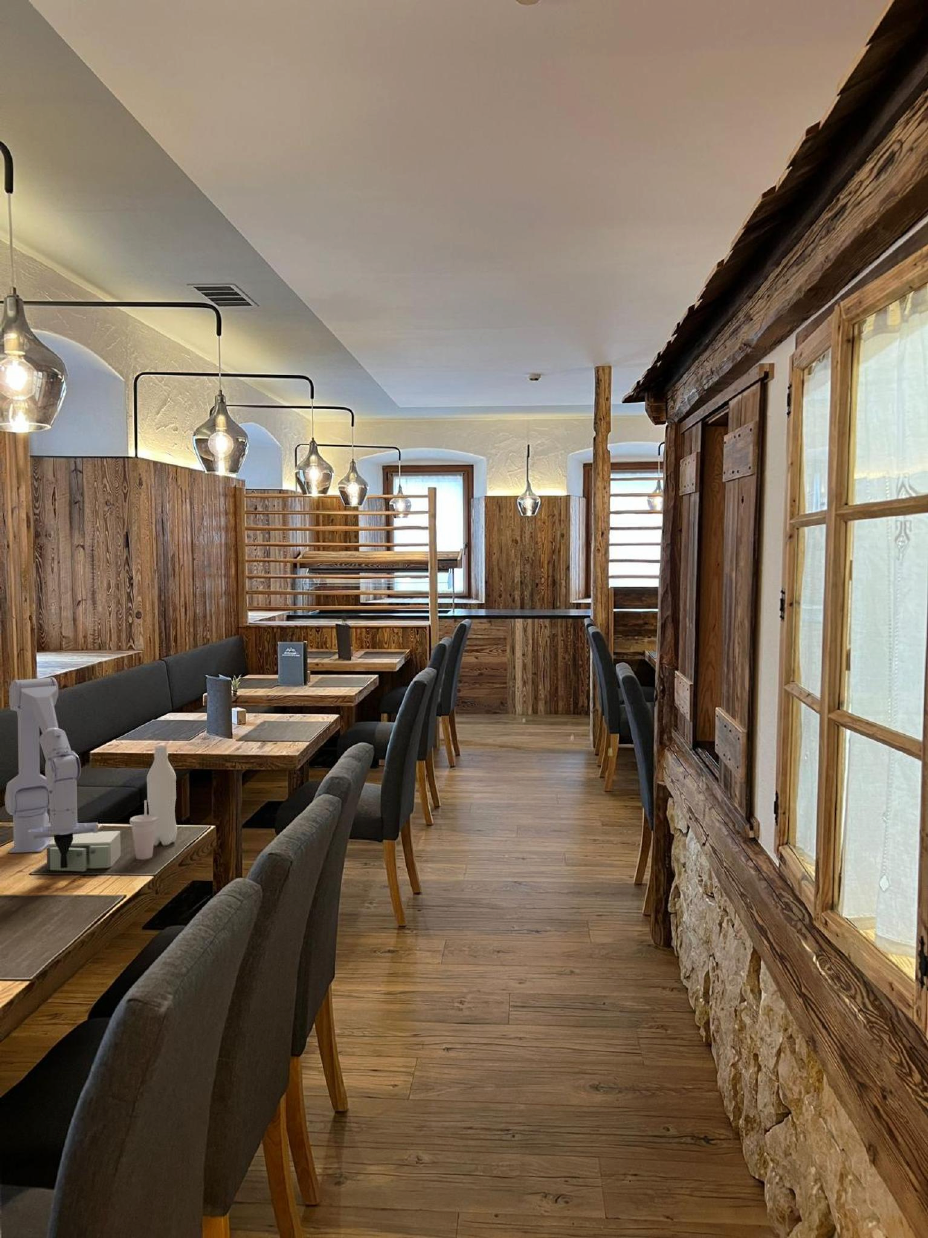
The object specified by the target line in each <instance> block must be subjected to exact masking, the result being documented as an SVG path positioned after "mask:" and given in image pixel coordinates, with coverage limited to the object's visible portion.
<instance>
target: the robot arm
mask: <svg viewBox="0 0 928 1238" xmlns="http://www.w3.org/2000/svg"><path fill="white" fill-rule="evenodd" d="M8 694H9V695H8V697H9V699H8V700H9V701H8V702H9V704H8V705H9V709H10V711H14V712H16V713H17V740H18V742H17V745H18V746H17V750H18V753H17V754H18V755H17V757H18V774H17V775H16V776H15V777H14V778H12V779H11V780H9V781H8V782H7V783H6V786H5V787H6V789H5V795H4V804H5V805H4V806H5V810H6V812H7V813H8V814H9V815H11V816H12V820H13V821H12V824H13V829H12V831H13V846H12V847H11V848H9V849H8V850H7V853H8V854H14V853H40V852H43V850H45V849H47V847H48V844H49V843H50V842H51V841H52V840H53V839H54V841H55V844H56V845H57V847H58V849H59V851H60V853H61V858H60V867H61V868H67V856H66V855H67V852H68V850H69V847H70V845H71V843H72V841H73V835H74V834H83V833H92V832H93V833H98V832H99V823H98V822H82V823H81V822H80V823H79V822H78V789H77V787H78V786H77V785H78V784H77V783H78V782H77V781H78V779H79V778H80V776H81V772H82V771H81V770H82V769H81V767H82V765H81V761H80V758H79V756H78V754H77V753H76V752H75V751H74V750H72V749H71V746H70V742H69V740H68V736H67V734H66V731H65V730H63V729H61V728H59V723H58V719H57V714H56V710H55V709H56V708H55V705H56V704H57V701H58V700H57V699H58V698H59V684H58V681H57V680H56V679H55V677H53V676H50V677H41V678H29V679H13V680H12V681H11V682H10V685H9V687H8ZM40 731H41V733H42V734H41V735H40ZM40 747H41V750H42V753H43V757H44V759H45V764H44V774H45V776H44V775H43V774H41V772H40V771H41V769H40V767H41V766H40V765H41V763H40V761H41V759H40V758H41V757H40ZM48 809H49V814H48Z"/></svg>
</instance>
